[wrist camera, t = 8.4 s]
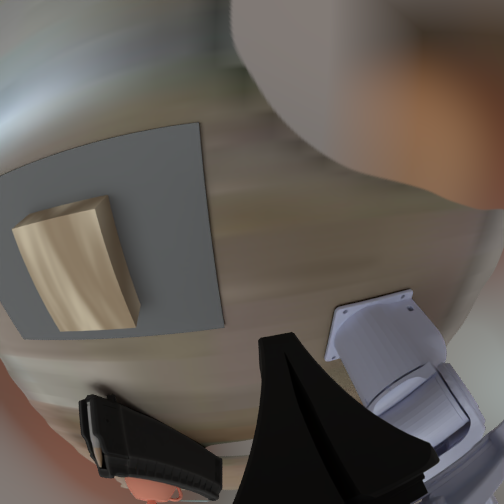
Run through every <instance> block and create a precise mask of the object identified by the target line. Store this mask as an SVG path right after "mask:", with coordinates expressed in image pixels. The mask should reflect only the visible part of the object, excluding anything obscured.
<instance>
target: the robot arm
mask: <svg viewBox="0 0 504 504" xmlns="http://www.w3.org/2000/svg"><path fill="white" fill-rule="evenodd" d="M412 295H413V291H412V290H411V289H408V290H404V291H401V292H397V293H393V294H390V295H386V296H382V297H378V298H374V299H370V300H366V301H362V302H357V303H353V304H349V305H344V306H340V307H338V308H336V309H335V311H334V316H333V321H332V326H331V330H330V335H329V340H328V344H327V348H326V353H325V357H324V359H325V361H331V360H335V359H339V358H341V360H342V362H343V364H344V366H345V368H346V370H347V372H348V374H349V376H350V378H351V380H352V382H353V385H354V387H355V389H356V391H357V393H358V395H359V397H360V399H361V401H362V403H363V405H364V406H363V405H361V404H360V403H359V402H358V401H356V400H355V399H354V398H353V397H351V396H350V395H349V394H348V393H347V392H346V391H345V390H343V389H342V388H341V387H340V386H339V385H338V384H337V383H336V382H335V381H334V380H333V379H332V378H331V377H330V376H329V375H328V374H327V373H326V372H325V371H324V370H323V368H322V367H321V366H320V365H319V364H318V363H317V362H316V361H315V360H314V358H313V357H312V356H311V355H310V354H309V352H308V351H307V350H306V349H305V347H304V346H303V345H302V344H301V342H300V341H299V339H298V338H297V337H296V335H295V334H294V333H293V332H290V333H285V334H280V335H274V336H269V337H263V338H260V339H259V340H258V346H259V366H260V372H261V379H262V386H261V397H260V406H259V413H258V419H257V425H256V430H255V435H254V439H253V443H252V448H251V451H250V455H249V459H248V462H247V465H246V468H245V472H244V475H243V478H242V481H241V484H240V486H239V489H238V492H237V494H236V497H235V499H234V502H233V504H414V503H415V502H417V501H419V500H421V499H422V501H421V502H419V503H417V504H498V502H497V500H496V498H495V496H494V494H493V493H494V492H495V491H496V490H497V488H498V487H499V486H500V484H501V483H502V481H503V480H504V420H503V421H502V422H501V423H500V424H499V425H498V426H497V427H496V428H494V429H493V430H492V431H490V432H489V433H488V434H487V435H485V436H484V437H483V438H482V436H483V434H484V432H485V428H486V427H485V425H484V423H485V418H484V417H483V415H482V413H481V412H480V410H479V406H478V404H477V403H476V401H475V399H474V398H473V397H472V395H471V393H470V392H469V390H468V389H467V387H466V386H465V384H464V383H463V382H462V380H461V379H460V377H459V376H458V374H457V373H456V371H455V370H454V369H453V367H452V366H451V365H450V363H445V360H446V354H447V351H446V345H445V341H444V339H443V336H442V335H441V333H440V332H439V330H438V329H437V328H436V326H435V325H434V324H433V323H432V322H431V320H430V319H429V318H428V317H427V316H426V314H425V313H424V312H423V311H422V310H421V309H420V307H419V306H418V305H417V304H416V303H415V302H414V301H413V299H412ZM344 310H345V311H344Z"/></svg>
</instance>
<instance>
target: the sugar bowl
mask: <svg viewBox="0 0 504 504" xmlns="http://www.w3.org/2000/svg"><path fill="white" fill-rule="evenodd" d="M125 481H126V483H127V486H128V488H129V489H130V491H131V492H132V494H133V495H134V496H135V498H137V499H140V500H144V501H147V504H157V503H156V502H167V501H168V500H171V501H179V500H181V499H182V497H183V494H182V491H181V489H180V488H179V487H177V490H178V492H179V498H177V499H173V498H171V496H172V495H173V493H174V491H175V489H176V486H172V485H169V484H165V483H160V482H156V481H151V480H146V479H139V478H132V477H125Z"/></svg>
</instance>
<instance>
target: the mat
mask: <svg viewBox="0 0 504 504" xmlns="http://www.w3.org/2000/svg"><path fill="white" fill-rule="evenodd" d="M104 195H108V197H109V202H110V206H111V210H112V214H113V218H114V222H115V226H116V230H117V233H118V237H119V240H120V244H121V247H122V251H123V254H124V257H125V261H126V264H127V267H128V270H129V273H130V276H131V279H132V282H133V285H134V288H135V291H136V293H137V296H138V299H139V302H140V304H141V306H140V311H139V316H138V321H137V326H136V328H125V329H110V330H91V331H64V332H60V330H59V329H58V327H57V325H56V324H55V322H54V320H53V319H52V317H51V315H50V313H49V311H48V310H47V308H46V306H45V304H44V302H43V300H42V298H41V297H40V295H39V293H38V291H37V289H36V287H35V284H34V282H33V280H32V278H31V276H30V274H29V272H28V269H27V267H26V265H25V262H24V260H23V258H22V255H21V253H20V250H19V248H18V245H17V243H16V240H15V237H14V234H13V231H12V228H14V227H15V226H16V225H17V224H18V223H19V222H20V221H22V220H23V219H24V218H25V217H26V216H27V215H29V214H31V213H35V212H38V211H42V210H46V209H49V208H53V207H57V206H61V205H65V204H69V203H73V202H77V201H81V200H86V199H90V198H95V197H99V196H104ZM0 301H1V303H2V305H3V307H4V309H5V310H6V312H7V314H8V315H9V317H10V319H11V320H12V322H13V323H14V325H15V327H16V328H17V330H18V331H19V333H20V334H21V336H22V337H23V339H30V340H80V339H108V338H126V337H140V336H153V335H164V334H174V333H184V332H193V331H201V330H210V329H217V328H224V321H223V315H222V309H221V302H220V296H219V289H218V283H217V276H216V269H215V262H214V255H213V248H212V240H211V232H210V225H209V217H208V208H207V200H206V191H205V182H204V173H203V163H202V153H201V142H200V131H199V122H197V123H190V124H182V125H175V126H169V127H163V128H157V129H152V130H146V131H141V132H136V133H131V134H127V135H122V136H118V137H114V138H110V139H106V140H102V141H98V142H94V143H90V144H87V145H83V146H80V147H77V148H73V149H70V150H67V151H64V152H61V153H58V154H55V155H52V156H49V157H46V158H43V159H41V160H38V161H35V162H33V163H30V164H27V165H25V166H22V167H20V168H18V169H15V170H13V171H11V172H8V173H6V174H4V175H2V176H0Z"/></svg>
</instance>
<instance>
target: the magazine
mask: <svg viewBox="0 0 504 504" xmlns="http://www.w3.org/2000/svg"><path fill="white" fill-rule="evenodd" d="M79 416H80V427H81V435H82V437H83V438H84V439H85V441H86V444H87V447H88V451H89V453H90V456H91V458H92V459H93V460H94V461H95V463H96V465H97V468H98V472H99V475H100V476H101V477H104V478H114V476H118V477H132V478H139V479H146V480H151V481H156V482H160V483H165V484H169V485H172V486H176V487H179V488H182V489H185V490H190V491H193V492H195V493H198V494H200V495H202V496H204V497H206V498H208V499H209V500H211V501H216V500H217V499H218V498H219V493H220V491H221V490H222V459H221V458H219V457H217V456H215V455H214V454H213V453H211V452H210V451H208V450H207V449H205V448H204V447H202V446H201V445H199V444H198V443H196V442H195V441H193V440H192V439H190V438H188V437H187V436H185V435H183V434H181V433H179V432H178V431H176V430H174V429H172V428H171V427H169V426H167V425H165V424H163V423H161V422H159V421H157V420H155V419H153V418H151V417H148V416H146V415H143V414H141V413H138V412H136V411H134V410H131V409H129V408H127V407H125V406H123V405H121V404H119V403H117V402H116V399H115V396H114V395H113V394H112V395H107V399H105V398H102V397H99V396H96V395H93V394H92V395H87V397H86V398H85V399H83V400H81V401H79Z"/></svg>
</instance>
